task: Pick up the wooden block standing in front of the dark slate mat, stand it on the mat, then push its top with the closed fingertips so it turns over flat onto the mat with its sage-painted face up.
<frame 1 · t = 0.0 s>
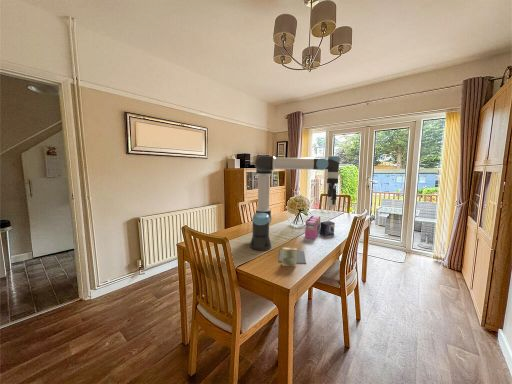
hand: (330, 207, 155), 28 cm above the table, fingers open, 13 cm apart
wooden block: (288, 265, 125), on the table
mat: (292, 256, 136), on the table
gum box: (312, 234, 181), on the table
small box: (326, 234, 182), on the table
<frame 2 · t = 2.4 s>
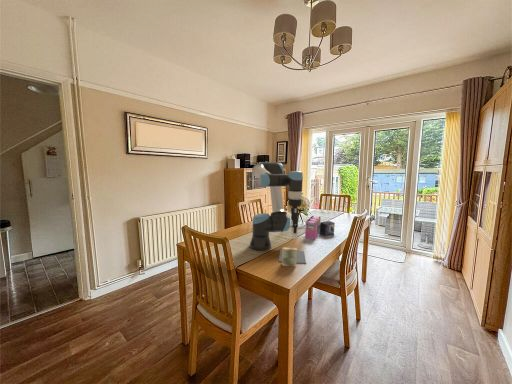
hand: (293, 234, 124), 18 cm above the table, fingers open, 13 cm apart
nothing on the table moved.
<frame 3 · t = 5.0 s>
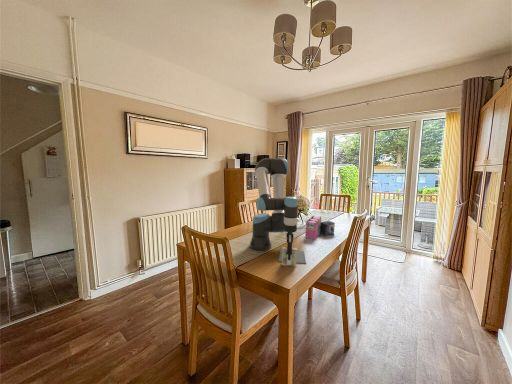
hand: (288, 263, 125), 1 cm above the table, fingers closed on wooden block, 3 cm apart
wooden block: (288, 264, 125), on the table, touching gripper
everything else where it was.
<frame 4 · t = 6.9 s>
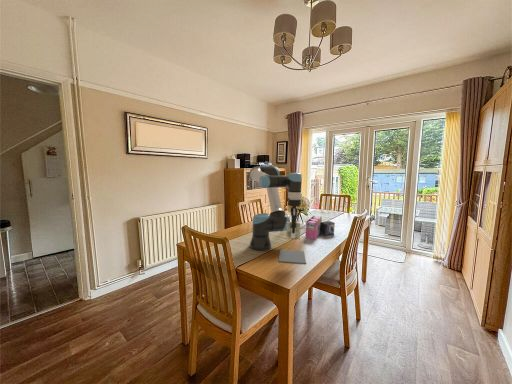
hand: (293, 236, 130), 14 cm above the table, fingers closed on wooden block, 2 cm apart
wooden block: (293, 238, 131), point 13 cm above the table, touching gripper
everything else where it was.
when the fingers open (2 cm above the table, at t = 9.1 s): wooden block stays where it is, resting on mat.
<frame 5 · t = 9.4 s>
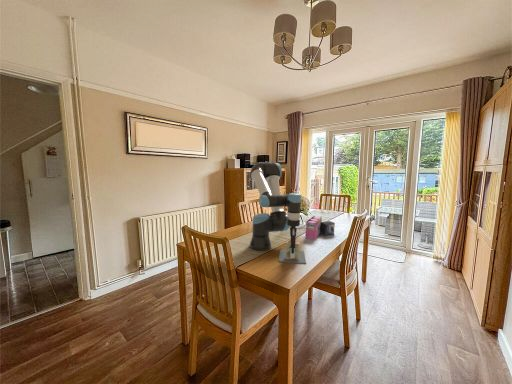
hand: (292, 255, 132), 3 cm above the table, fingers open, 6 cm apart
wooden block: (292, 258, 132), point 1 cm above the table, touching mat
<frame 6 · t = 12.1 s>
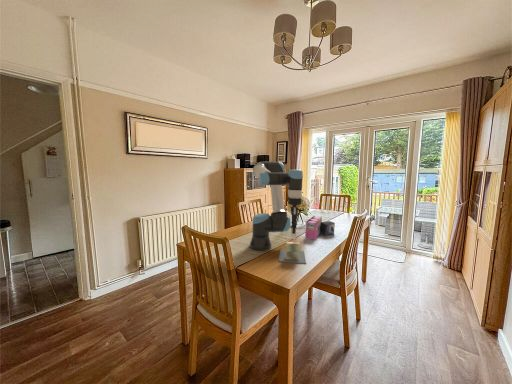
hand: (293, 237, 123), 17 cm above the table, fingers open, 3 cm apart
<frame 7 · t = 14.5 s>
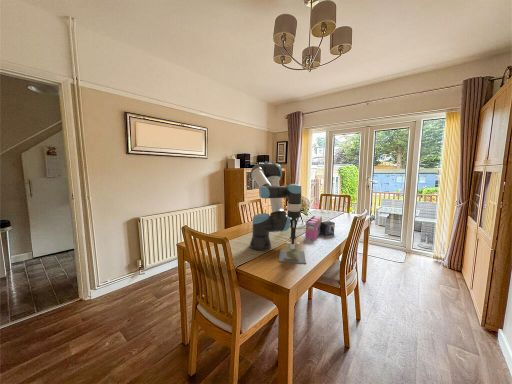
hand: (292, 248, 130), 8 cm above the table, fingers closed
wooden block: (292, 258, 132), point 1 cm above the table, touching gripper, mat
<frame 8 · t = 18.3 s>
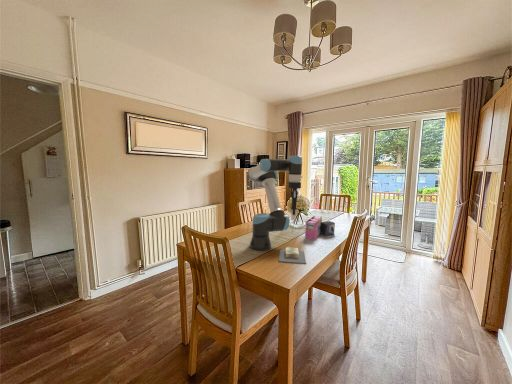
hand: (293, 219, 132), 24 cm above the table, fingers closed
wooden block: (292, 255, 133), point 2 cm above the table, tilted 90°, touching mat
at the end: wooden block tilted 90°; wooden block inside the target area on the mat (2.6 cm from its centre), point 1.8 cm above the mat's base; the gripper is holding nothing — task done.
